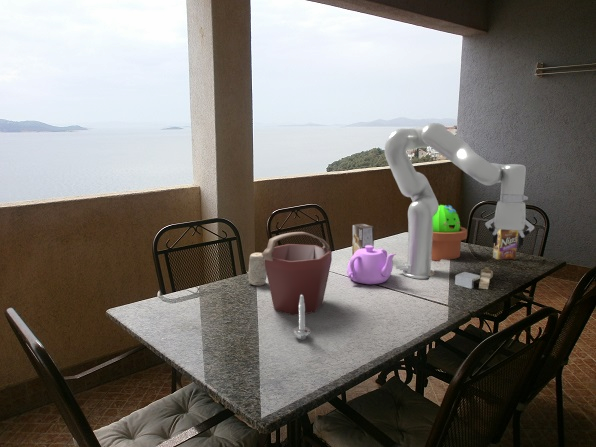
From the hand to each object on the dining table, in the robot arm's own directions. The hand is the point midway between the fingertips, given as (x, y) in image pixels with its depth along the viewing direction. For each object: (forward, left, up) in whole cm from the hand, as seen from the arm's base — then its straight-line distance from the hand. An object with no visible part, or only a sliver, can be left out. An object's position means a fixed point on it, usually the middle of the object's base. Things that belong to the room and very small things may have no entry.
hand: (507, 245), depth 163 cm
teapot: (-48, +7, -16) cm, 51 cm away
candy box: (+16, +35, -16) cm, 42 cm away
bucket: (-78, -17, -16) cm, 81 cm away
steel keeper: (-14, -1, -16) cm, 21 cm away
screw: (-76, -42, -16) cm, 88 cm away
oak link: (-6, +3, -15) cm, 16 cm away
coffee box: (-48, +37, -16) cm, 63 cm away
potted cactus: (-11, +42, -16) cm, 47 cm away
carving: (-93, +4, -16) cm, 95 cm away
